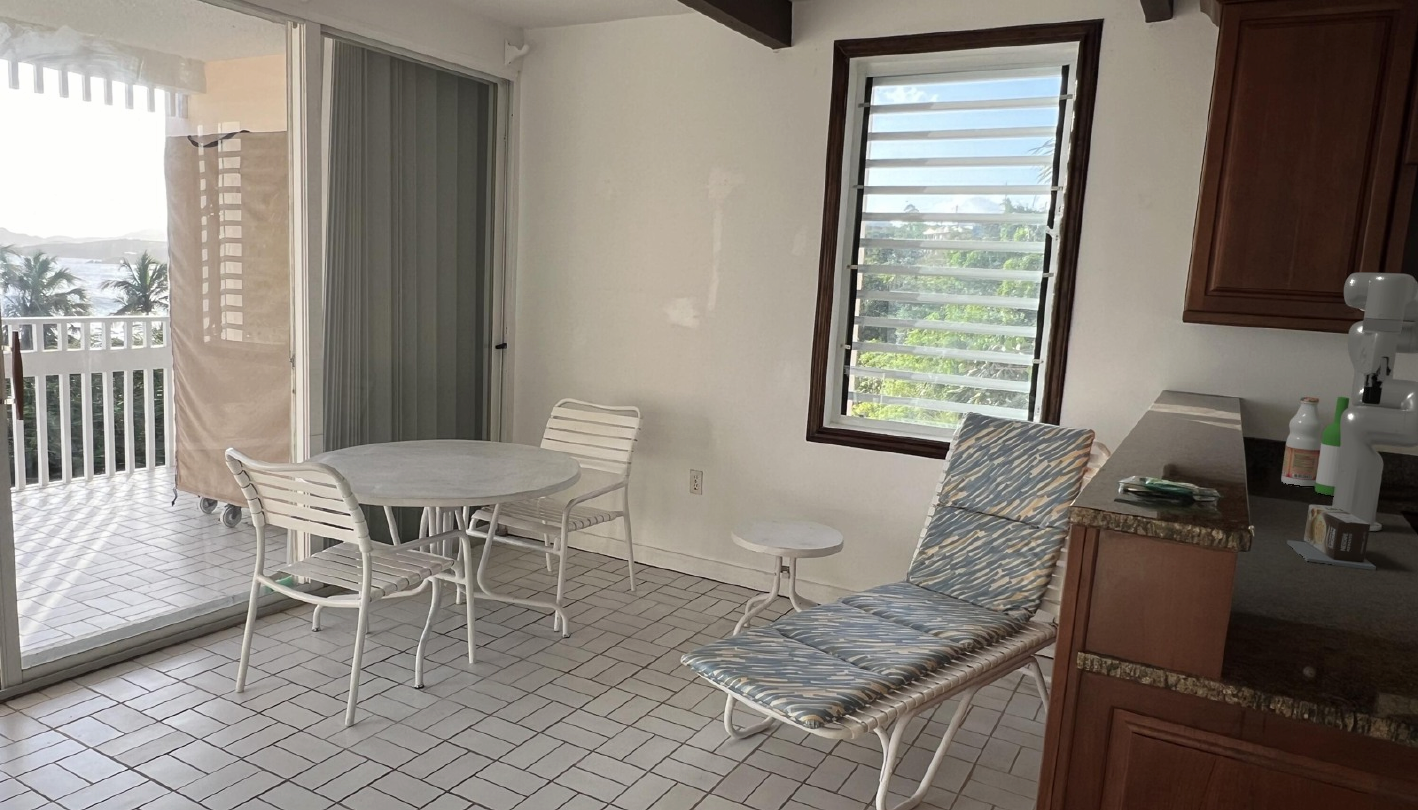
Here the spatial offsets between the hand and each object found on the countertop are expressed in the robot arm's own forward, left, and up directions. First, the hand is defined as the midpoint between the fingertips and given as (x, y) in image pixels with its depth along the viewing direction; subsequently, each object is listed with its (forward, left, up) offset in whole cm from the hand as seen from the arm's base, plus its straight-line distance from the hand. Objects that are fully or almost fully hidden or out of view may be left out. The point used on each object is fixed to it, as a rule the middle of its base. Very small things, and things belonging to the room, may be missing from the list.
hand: (1370, 403), depth 217 cm
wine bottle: (-63, +14, -35) cm, 73 cm away
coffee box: (+7, -9, -29) cm, 31 cm away
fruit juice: (-76, +9, -35) cm, 84 cm away
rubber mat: (+17, -9, -34) cm, 40 cm away
